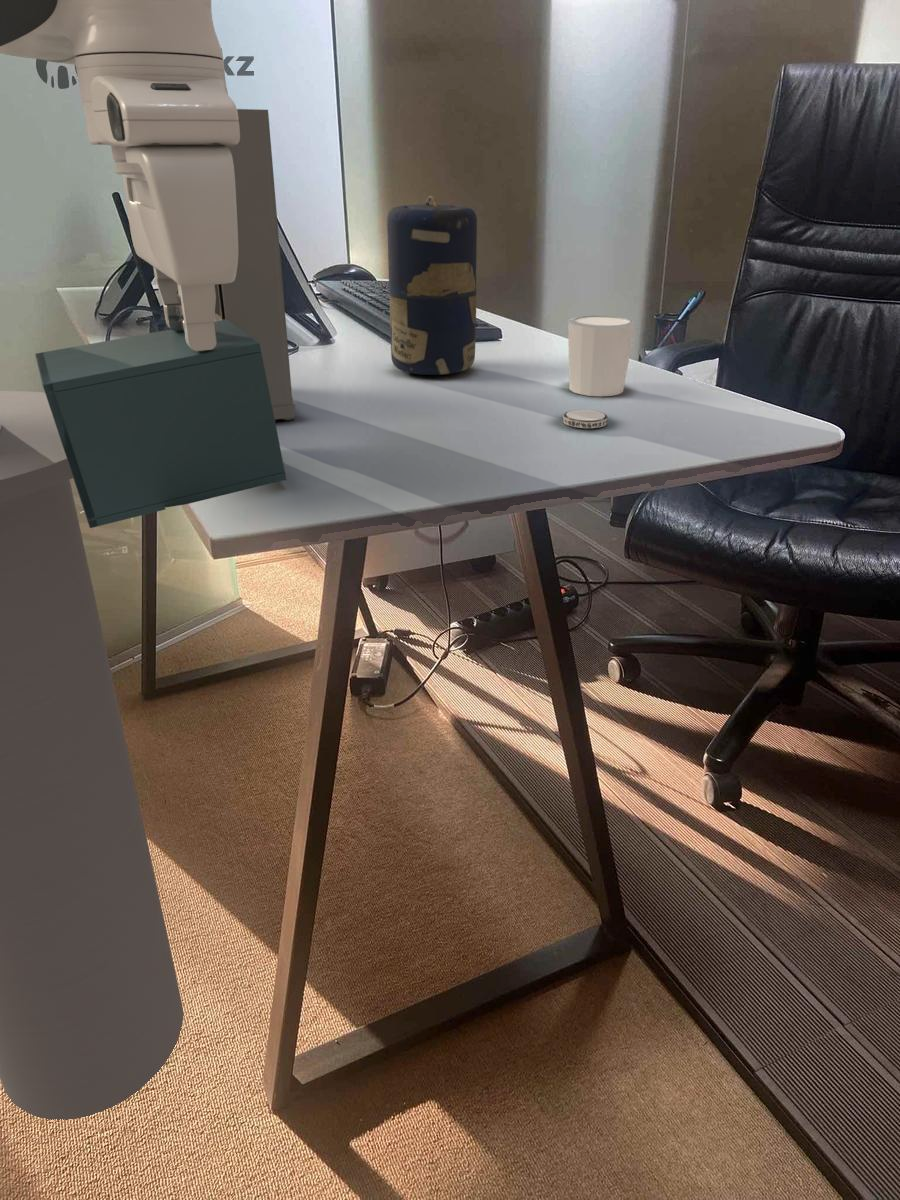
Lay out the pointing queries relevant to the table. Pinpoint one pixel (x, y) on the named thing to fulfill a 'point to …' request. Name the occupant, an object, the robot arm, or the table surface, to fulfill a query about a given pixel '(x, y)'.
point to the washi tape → (585, 419)
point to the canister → (432, 287)
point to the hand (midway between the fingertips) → (190, 338)
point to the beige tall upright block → (258, 259)
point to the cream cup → (599, 354)
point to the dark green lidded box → (162, 420)
